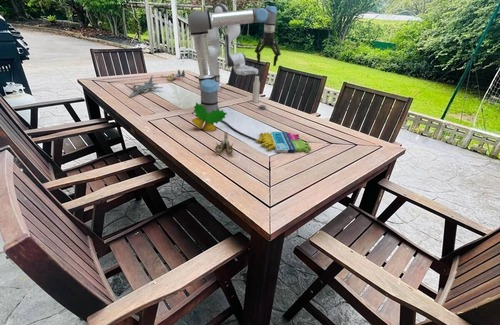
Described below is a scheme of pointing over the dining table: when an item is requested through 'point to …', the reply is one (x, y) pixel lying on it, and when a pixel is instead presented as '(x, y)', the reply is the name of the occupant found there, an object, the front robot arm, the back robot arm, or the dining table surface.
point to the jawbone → (224, 145)
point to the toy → (174, 76)
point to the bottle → (256, 90)
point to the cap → (262, 107)
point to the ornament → (207, 117)
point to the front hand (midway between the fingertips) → (266, 64)
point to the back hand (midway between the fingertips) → (251, 73)
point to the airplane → (143, 87)
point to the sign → (283, 142)
